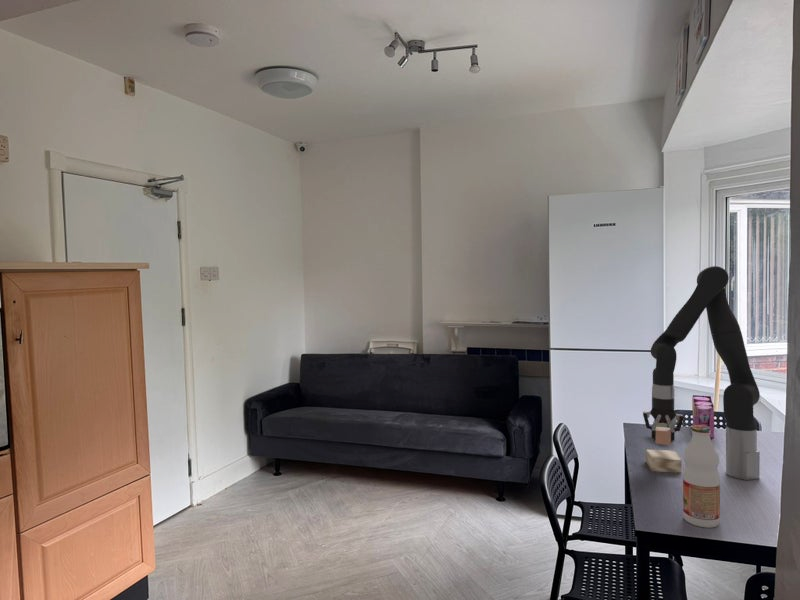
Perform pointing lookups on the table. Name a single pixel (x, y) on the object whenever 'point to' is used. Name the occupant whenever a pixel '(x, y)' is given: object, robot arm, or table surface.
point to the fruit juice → (701, 480)
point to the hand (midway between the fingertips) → (662, 440)
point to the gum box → (703, 412)
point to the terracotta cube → (663, 435)
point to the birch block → (663, 460)
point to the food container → (667, 424)
